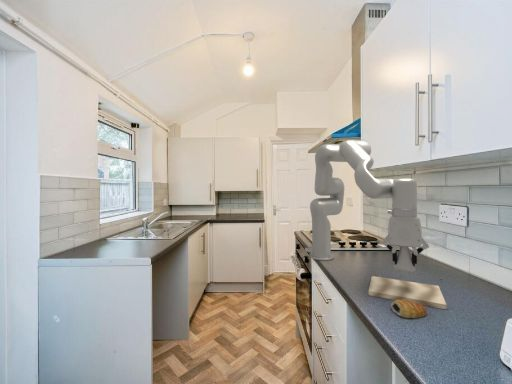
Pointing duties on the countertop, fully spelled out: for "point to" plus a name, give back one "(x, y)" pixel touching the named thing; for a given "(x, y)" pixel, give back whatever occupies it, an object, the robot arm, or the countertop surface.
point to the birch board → (407, 291)
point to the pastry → (408, 309)
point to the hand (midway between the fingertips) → (404, 264)
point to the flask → (404, 261)
